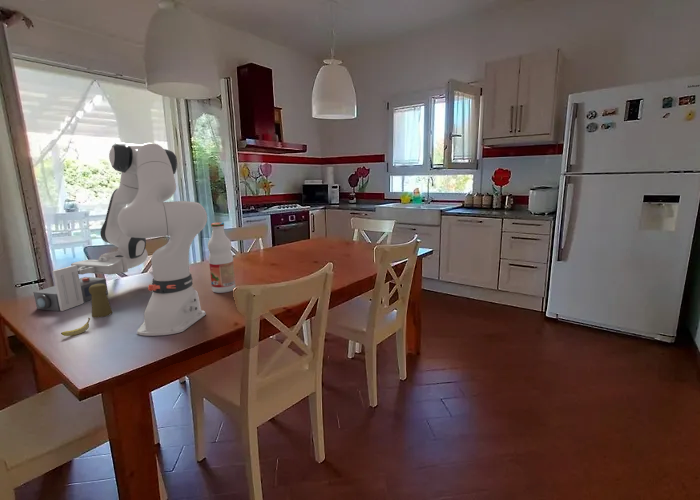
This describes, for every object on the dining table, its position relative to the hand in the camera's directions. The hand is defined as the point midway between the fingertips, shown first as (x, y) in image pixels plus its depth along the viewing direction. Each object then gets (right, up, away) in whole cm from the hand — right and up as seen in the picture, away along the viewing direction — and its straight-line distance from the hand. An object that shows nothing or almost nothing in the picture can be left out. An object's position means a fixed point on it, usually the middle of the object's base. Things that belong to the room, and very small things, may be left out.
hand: (77, 272), depth 138 cm
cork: (+15, -14, -8) cm, 22 cm away
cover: (-1, -13, -1) cm, 13 cm away
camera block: (-6, -12, +6) cm, 14 cm away
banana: (+18, -18, -24) cm, 35 cm away
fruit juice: (+50, -8, +16) cm, 53 cm away
